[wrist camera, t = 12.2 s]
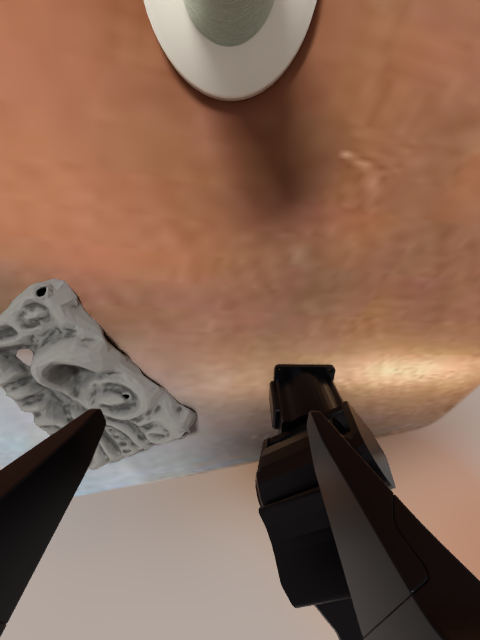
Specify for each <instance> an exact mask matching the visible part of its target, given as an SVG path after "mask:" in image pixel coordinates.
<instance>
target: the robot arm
mask: <svg viewBox="0 0 480 640" xmlns="http://www.w3.org/2000/svg"><path fill="white" fill-rule="evenodd" d="M277 369H280V370H277ZM329 369H331V370H329ZM334 374H335V368H334V366H333V365H289V364H279V365H276V366H275V367H274V381H271V382H270V390H269V402H270V411H271V421H272V427H273V428H274V429H278V432H279V434H278V435H276V436H274V437H272V438H267V439H265V440H264V442H263V446H262V451H261V456H260V460H259V465H258V470H257V473H256V492H257V497H258V501H259V504H260V506H261V507H260V508H259V514H260V516H261V518H262V520H263V522H264V524H265V526H266V529H267V532H268V535H269V538H270V540H271V543H272V547H273V551H274V555H275V559H276V564H277V568H278V573H279V578H280V582H281V585H282V587H283V589H284V591H285V593H286V594H287V596H288V598H289V600H290V602H291V604H292V605H293V606H294V607H295V608H300V607H305V606H311V605H314V606H315V607H316V608H317V609H318V611H319V612H320V613H321V614H322V616H323V617H324V618H325V619H326V621H327V622H328V623H329V624H330V625H331V627H332V628H333V629H334V630H335V632H336V633H337V636H338V638H339V640H480V581H479V580H478V579H477V578H476V577H475V576H474V575H473V574H472V573H471V572H470V571H469V570H468V569H467V568H466V567H465V566H464V565H463V564H462V563H461V562H460V561H459V560H458V559H456V557H455V556H454V555H453V554H451V552H450V551H449V550H448V549H446V547H444V546H443V545H442V544H441V543H440V542H439V541H438V540H437V539H436V538H435V537H434V536H433V534H432V533H431V532H430V531H428V529H426V527H425V526H424V525H423V524H422V523H421V522H420V521H419V520H418V519H417V518H416V517H415V516H414V515H413V514H412V513H411V512H410V511H409V509H408V508H407V507H406V506H405V505H404V504H403V503H402V502H401V501H400V500H399V498H398V497H397V496H396V495H393V492H392V491H391V490H390V489H393V488H395V483H394V480H393V477H392V474H391V471H390V467H389V464H388V461H387V457H386V455H385V454H384V452H383V450H382V449H381V447H380V445H379V444H378V442H377V440H376V439H375V437H374V435H373V434H372V432H371V431H370V429H369V428H368V427H367V426H366V424H365V423H364V422H363V420H362V419H361V418H360V417H359V415H358V414H357V413H356V412H355V410H354V409H353V408H352V407H351V405H350V404H349V403H348V402H347V401H345V402H343V401H342V399H341V397H340V395H339V393H338V391H337V389H336V387H335V385H334V383H333V379H334ZM105 427H106V419H105V417H104V415H103V412H102V410H101V409H98V408H92V409H89V410H87V411H86V412H84V413H83V414H81V415H80V416H78V417H77V418H75V419H74V420H73V421H71V422H70V423H68V424H67V425H65V426H64V427H62V428H61V429H60V430H58V431H57V432H55V433H54V434H52V435H51V436H49V437H48V438H47V439H45V440H44V441H42V442H41V443H39V444H38V445H36V446H35V447H33V448H32V449H31V450H29V451H28V452H26V453H25V454H23V455H22V456H20V457H19V458H18V459H16V460H15V461H13V462H12V463H10V464H9V465H7V466H6V467H4V468H3V469H2V470H0V636H1V635H2V633H3V630H4V629H5V627H6V623H7V622H8V621H9V619H10V617H11V615H12V613H13V611H14V609H15V607H16V605H17V603H18V601H19V600H20V598H21V596H22V594H23V592H24V590H25V588H26V586H27V584H28V582H29V580H30V579H31V577H32V574H33V572H34V571H35V569H36V567H37V565H38V563H39V561H40V559H41V557H42V555H43V554H44V552H45V550H46V548H47V546H48V544H49V542H50V540H51V538H52V536H53V534H54V533H55V531H56V529H57V527H58V525H59V523H60V521H61V519H62V517H63V515H64V513H65V511H66V509H67V508H68V506H69V504H70V502H71V500H72V498H73V496H74V494H75V492H76V490H77V488H78V486H79V485H80V483H81V481H82V479H83V477H84V475H85V473H86V471H87V469H88V467H89V465H90V463H91V461H92V459H93V456H94V454H95V451H96V449H97V446H98V444H99V442H100V439H101V437H102V434H103V432H104V430H105Z"/></svg>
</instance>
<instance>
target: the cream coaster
mask: <svg viewBox="0 0 480 640" xmlns="http://www.w3.org/2000/svg"><path fill="white" fill-rule="evenodd" d="M316 2H317V0H275V1H274V4H273V7H272V9H271V12H270V14H269V16H268V18H267V20H266V22H265V23H264V25H263V26H262V28H261V29H260V30H259V31H258V33H257V34H256V35H255V36H253V37H252V38H251V39H250V40H248V41H247V42H245V43H243V44H241V45H238V46H233V47H226V46H220V45H217V44H215V43H213V42H211V41H210V40H208V39H207V38H206V37H204V36H203V35H202V34H201V33H200V32H199V30H198V29H197V28H196V26H195V25H194V23H193V22H192V20H191V18H190V16H189V14H188V12H187V10H186V7H185V4H184V1H183V0H144V3H145V7H146V11H147V14H148V17H149V19H150V22H151V25H152V28H153V30H154V32H155V34H156V36H157V39H158V41H159V43H160V45H161V47H162V49H163V51H164V52H165V54H166V56H167V57H168V59H169V61H170V62H171V64H172V65H173V67H174V68H175V69H176V71H177V72H178V73H179V75H180V76H181V77H182V78H183V79H184V80H185V81H186V82H187V83H188V84H190V85H191V86H192V87H193V88H194V89H196V90H197V91H199V92H201V93H202V94H204V95H206V96H209V97H211V98H214V99H217V100H222V101H239V100H245V99H248V98H251V97H254V96H256V95H258V94H260V93H262V92H263V91H265V90H266V89H267V88H269V87H270V86H272V85H273V84H274V83H275V82H276V81H277V80H278V79H279V78H280V77H281V76H282V75H283V73H284V72H285V71H286V70H287V69H288V67H289V66H290V64H291V63H292V61H293V60H294V58H295V57H296V55H297V53H298V51H299V49H300V47H301V45H302V43H303V41H304V38H305V36H306V33H307V31H308V28H309V25H310V22H311V19H312V15H313V12H314V9H315V5H316Z"/></svg>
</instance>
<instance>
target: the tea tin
mask: <svg viewBox="0 0 480 640" xmlns="http://www.w3.org/2000/svg"><path fill="white" fill-rule="evenodd" d="M183 1H184V4H185V7H186V10H187V12H188V14H189V16H190V18H191V20H192V22H193V23H194V25H195V26H196V28H197V29H198V30H199V32H200V33H201V34H202V35H203V36H204V37H206V38H207V39H208V40H210V41H211V42H213V43H215V44H217V45H220V46H226V47H233V46H238V45H241V44H243V43H245V42H247V41H248V40H250V39H251V38H252V37H253V36H255V35H256V34H257V33H258V31H259V30H260V29H261V28H262V26H263V25H264V23H265V22H266V20H267V18H268V16H269V14H270V12H271V9H272V7H273V4H274V1H275V0H183Z"/></svg>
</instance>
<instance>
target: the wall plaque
mask: <svg viewBox="0 0 480 640" xmlns="http://www.w3.org/2000/svg"><path fill="white" fill-rule="evenodd" d="M43 288H46V293H45V295H44V296H41V297H39V296H37V292H38V291H39V290H40V289H43ZM19 349H30V350H31V351H32V352H33V360H32V363H31V367H30V366H28V365H26V364H24V363H23V362H22V361H21V360H20V359H19V358H17V357H16V354H17V351H18V350H19ZM0 386H1V387H2V388H3V389H4V391H5V392H6V395H7V396H8V397H10V398H12V399H13V400H14V401H15V402H16V403H17V405H18V406H19V407H20V409H21V410H22V411H24V412H32V413H33V415H34V423H35V424H36V425H37V426H38V427H40V428H41V429H43V430H44V431H46V432H47V433H48V434H49V435H52V434H54V433H55V432H57V431H58V430H60V429H61V428H62V427H64V426H65V425H67V424H68V423H70V422H71V421H73V420H74V419H75V418H77V417H78V416H80V415H81V414H83V413H84V412H86V411H87V410H89V409H92V408H98V409H101V410H102V412H103V415H104V417H105V419H106V427H105V430H104V432H103V434H102V437H101V439H100V442H99V444H98V446H97V449H96V451H95V454H94V456H93V459H92V461H91V463H90V465H89V467H88V469H92V470H93V469H97V468H99V467H101V466H103V465H105V464H107V463H109V462H111V461H118V460H120V459H121V458H123V457H128V456H131V455H133V454H136V453H137V452H138V451H140V450H141V449H144V450H146V449H148V448H150V447H151V446H153V445H154V444H166V443H169V442H171V441H174V440H176V439H178V438H180V439H183V438H184V437H185V436H186V434H187V433H190V427H191V426H192V425H193V424H194V422H195V420H196V413H195V412H193V411H192V410H190V409H188V408H185V407H184V406H183V405H180V404H179V403H178V402H177V401H176V399H175V398H174V397H173V396H172V395H171V394H170V393H169V392H168V391H167V390H166V389H165V388H163V387H160V386H158V385H156V384H155V383H153V382H152V381H150V380H149V379H148V378H147V377H145V376H144V375H143V374H142V372H141V371H140V369H139V368H138V367H137V366H136V365H135V364H134V363H133V362H132V361H131V360H130V358H129V357H128V356H125V355H124V354H122V353H121V352H119V351H118V350H117V349H116V348H114V347H113V346H112V345H111V344H110V343H109V342H108V341H107V340H106V339H105V337H104V335H103V329H102V328H101V327H100V326H99V325H98V323H97V322H96V321H95V320H94V319H93V318H92V317H91V316H90V315H89V314H88V313H87V312H86V311H85V310H84V308H83V307H82V305H81V303H80V301H79V299H78V297H77V296H76V294H75V293H74V292H73V291H72V289H71V288H70V286H69V285H68V284H67V283H66V282H65V281H63V280H58V279H50V280H47V281H45V282H39V283H34V284H32V285H30V286H29V287H28V288H27V289H26V290H25V291H23V292H22V293H21V294H20V295H19V296H17V297H16V298H15V299H14V300H13V302H12V303H11V304H10V306H9V307H8V309H6V310H5V311H4V312H3V313H2V314H1V315H0ZM124 394H127V395H129V398H128V399H126V398H125V397H124V396H123V395H124ZM109 429H111V430H112V431H111V430H109Z"/></svg>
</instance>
